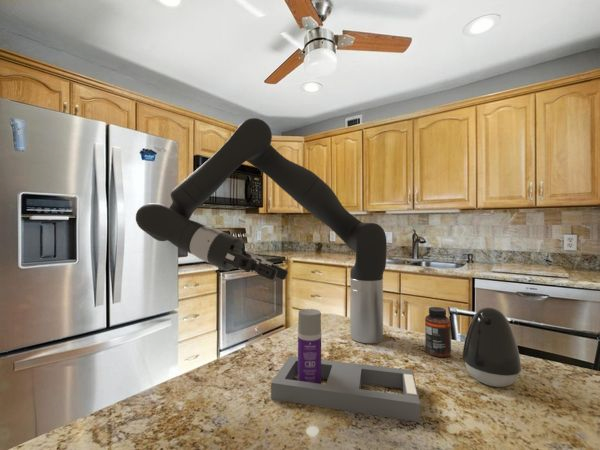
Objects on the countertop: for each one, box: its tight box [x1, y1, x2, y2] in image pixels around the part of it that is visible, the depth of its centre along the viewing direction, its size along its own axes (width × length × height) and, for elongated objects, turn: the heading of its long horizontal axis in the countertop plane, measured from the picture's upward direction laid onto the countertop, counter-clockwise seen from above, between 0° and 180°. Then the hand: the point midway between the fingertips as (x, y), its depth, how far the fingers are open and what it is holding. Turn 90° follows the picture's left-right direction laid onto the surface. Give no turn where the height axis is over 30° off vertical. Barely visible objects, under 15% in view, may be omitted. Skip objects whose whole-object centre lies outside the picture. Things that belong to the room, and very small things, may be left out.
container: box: [297, 308, 322, 384], centre depth 60 cm, size 5×5×15 cm
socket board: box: [270, 355, 421, 423], centre depth 58 cm, size 12×26×3 cm, turn 75°
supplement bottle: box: [424, 306, 452, 358], centre depth 76 cm, size 6×6×11 cm
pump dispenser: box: [462, 306, 522, 388], centre depth 62 cm, size 10×10×15 cm
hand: (281, 275), depth 62 cm, fingers open, 8 cm apart
